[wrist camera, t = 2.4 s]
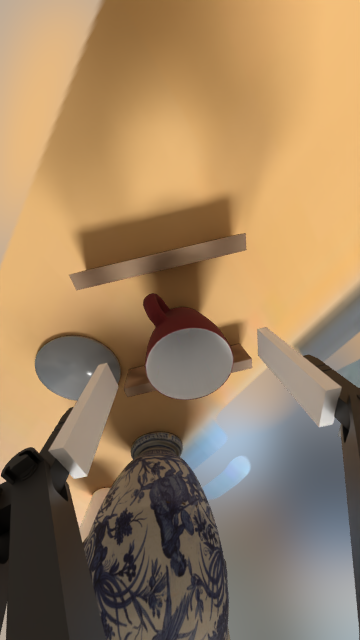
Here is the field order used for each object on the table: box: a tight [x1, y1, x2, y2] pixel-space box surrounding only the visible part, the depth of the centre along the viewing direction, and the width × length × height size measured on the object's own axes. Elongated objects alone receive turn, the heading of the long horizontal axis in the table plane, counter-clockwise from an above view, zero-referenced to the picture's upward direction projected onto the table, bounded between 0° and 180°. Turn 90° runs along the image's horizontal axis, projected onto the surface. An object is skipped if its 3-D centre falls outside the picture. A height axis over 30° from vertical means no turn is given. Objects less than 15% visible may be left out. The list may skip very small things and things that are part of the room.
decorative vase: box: [83, 432, 230, 640], centre depth 22 cm, size 21×19×28 cm
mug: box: [143, 293, 234, 400], centre depth 19 cm, size 10×8×10 cm
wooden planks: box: [69, 233, 252, 397], centre depth 22 cm, size 18×17×4 cm
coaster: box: [35, 335, 121, 401], centre depth 26 cm, size 12×12×1 cm
